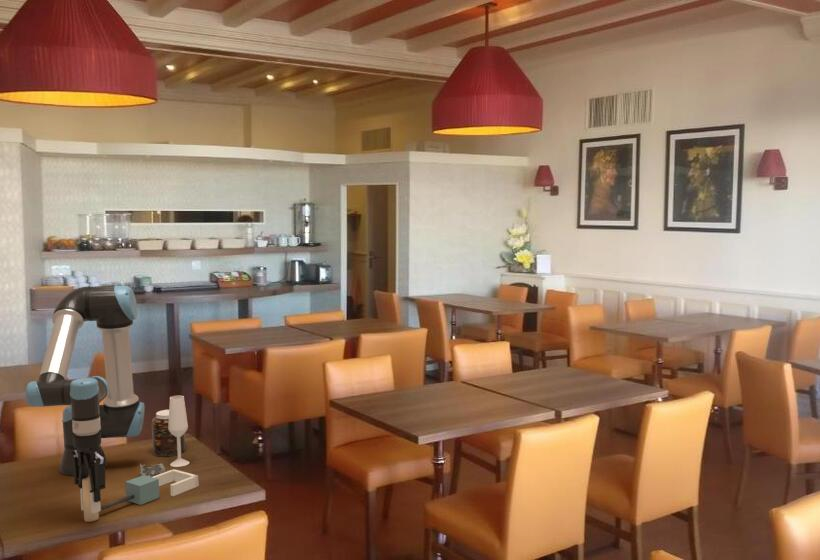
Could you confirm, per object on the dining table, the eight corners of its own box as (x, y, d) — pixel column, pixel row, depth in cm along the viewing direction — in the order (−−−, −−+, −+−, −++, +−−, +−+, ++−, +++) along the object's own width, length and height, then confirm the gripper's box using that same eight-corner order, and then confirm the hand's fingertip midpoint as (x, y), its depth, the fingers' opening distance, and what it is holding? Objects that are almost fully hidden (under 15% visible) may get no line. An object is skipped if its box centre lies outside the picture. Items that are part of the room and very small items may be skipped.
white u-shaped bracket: (148, 489, 251) (147, 478, 251) (173, 479, 260) (173, 469, 260) (173, 496, 245) (172, 485, 244) (198, 486, 253) (198, 475, 253)
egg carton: (139, 474, 266) (138, 463, 265) (162, 471, 269) (161, 459, 269) (143, 484, 256) (142, 472, 256) (166, 480, 259) (166, 468, 259)
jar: (191, 451, 289) (189, 412, 288) (162, 459, 281) (160, 418, 279) (175, 444, 297) (173, 406, 296) (146, 452, 289) (144, 412, 288)
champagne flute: (166, 463, 276) (163, 397, 274) (184, 459, 280) (181, 393, 278) (175, 468, 271) (172, 400, 269) (192, 463, 275) (190, 397, 273)
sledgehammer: (78, 518, 228) (75, 478, 226) (144, 493, 247) (143, 456, 246) (92, 523, 224) (90, 483, 223) (159, 497, 243) (157, 460, 242)
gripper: (57, 431, 226) (61, 508, 229) (93, 440, 217) (97, 521, 219) (80, 424, 232) (84, 500, 235) (116, 433, 223) (120, 512, 226)
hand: (91, 510), depth 227 cm, fingers closed on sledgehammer, 4 cm apart
